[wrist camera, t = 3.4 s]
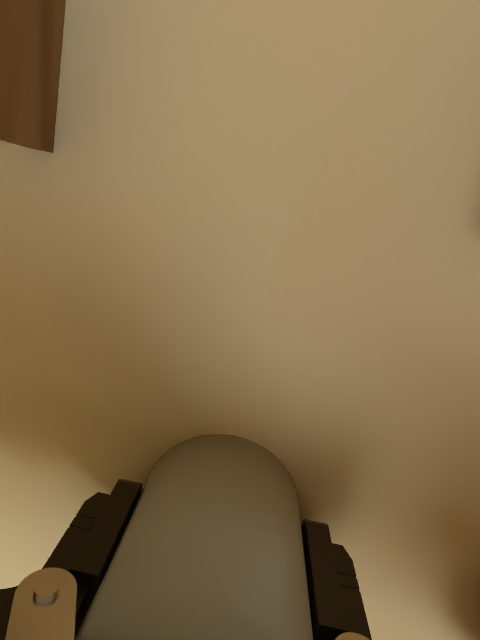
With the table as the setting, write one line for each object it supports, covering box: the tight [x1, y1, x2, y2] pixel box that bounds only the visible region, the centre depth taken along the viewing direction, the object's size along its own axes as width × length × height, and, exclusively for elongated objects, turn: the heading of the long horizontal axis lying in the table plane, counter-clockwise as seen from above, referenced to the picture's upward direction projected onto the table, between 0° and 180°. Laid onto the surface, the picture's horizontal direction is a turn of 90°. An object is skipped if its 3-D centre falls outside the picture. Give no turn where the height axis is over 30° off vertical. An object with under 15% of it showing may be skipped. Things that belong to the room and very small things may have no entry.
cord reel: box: [75, 435, 313, 640], centre depth 11 cm, size 5×5×7 cm
